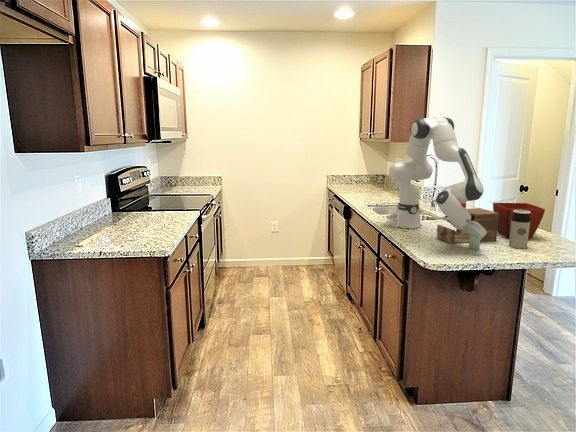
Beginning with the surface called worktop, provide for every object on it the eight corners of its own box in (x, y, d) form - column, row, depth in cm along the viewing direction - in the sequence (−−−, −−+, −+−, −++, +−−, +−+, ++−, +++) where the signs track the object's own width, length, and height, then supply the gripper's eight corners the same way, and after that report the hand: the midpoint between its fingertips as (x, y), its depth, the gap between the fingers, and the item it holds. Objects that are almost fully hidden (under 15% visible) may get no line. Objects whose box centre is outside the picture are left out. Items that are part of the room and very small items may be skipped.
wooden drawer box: (455, 236, 218) (458, 209, 215) (477, 234, 222) (480, 208, 219) (473, 243, 205) (476, 214, 202) (496, 241, 209) (499, 213, 205)
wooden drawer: (433, 237, 214) (434, 225, 213) (459, 235, 218) (460, 223, 217) (448, 244, 202) (449, 230, 201) (475, 241, 206) (476, 228, 204)
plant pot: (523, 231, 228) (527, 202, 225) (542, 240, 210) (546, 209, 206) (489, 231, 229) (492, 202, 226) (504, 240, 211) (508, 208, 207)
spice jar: (466, 247, 198) (468, 225, 196) (474, 246, 199) (476, 225, 197) (473, 250, 193) (475, 228, 191) (481, 249, 194) (483, 227, 192)
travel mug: (508, 243, 204) (512, 209, 200) (526, 245, 200) (531, 210, 196) (508, 247, 197) (512, 211, 194) (526, 249, 193) (531, 213, 190)
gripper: (480, 218, 181) (496, 237, 185) (451, 209, 200) (466, 227, 205) (471, 228, 181) (487, 247, 185) (443, 218, 200) (458, 236, 205)
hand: (476, 236), depth 195 cm, fingers closed on spice jar, 5 cm apart
